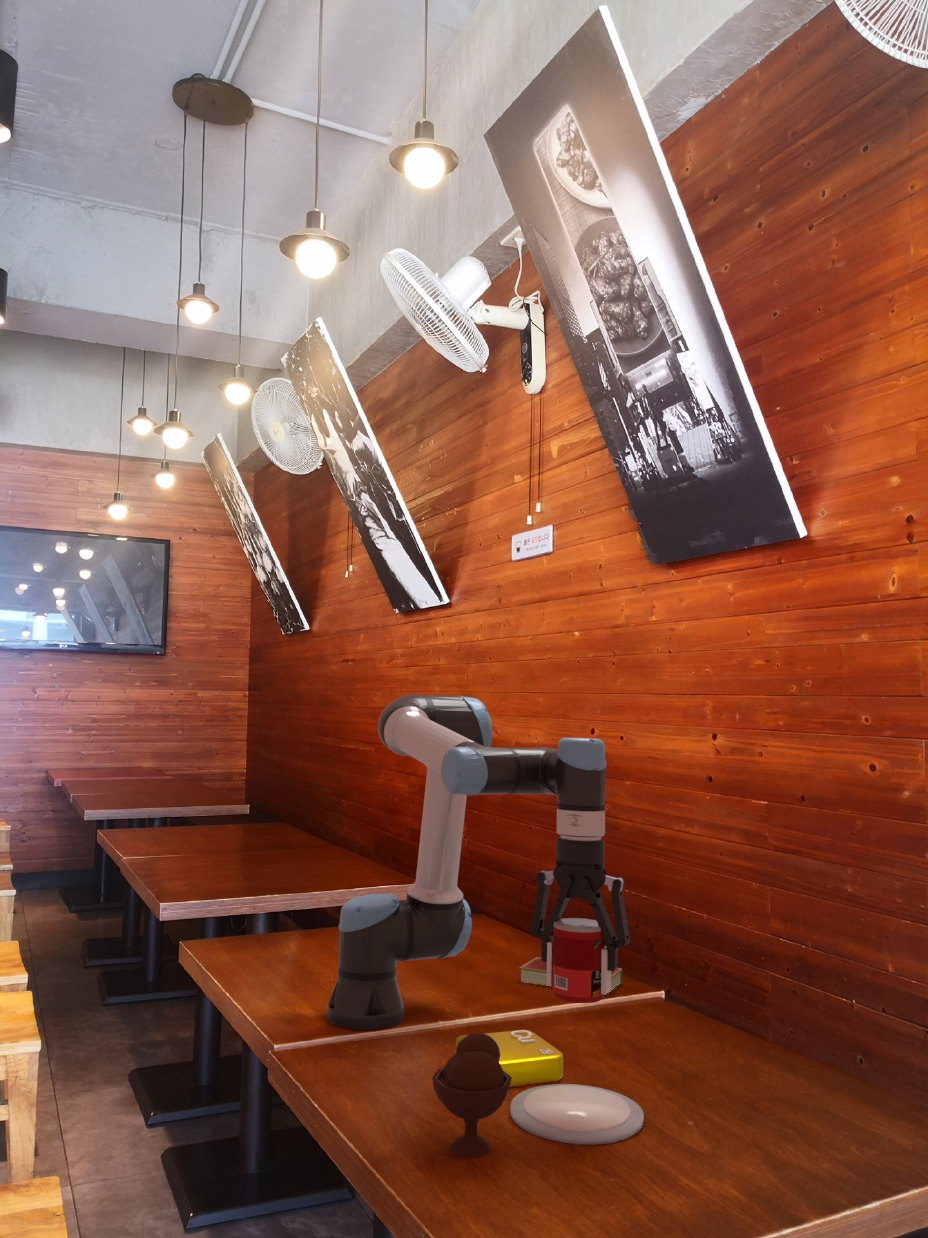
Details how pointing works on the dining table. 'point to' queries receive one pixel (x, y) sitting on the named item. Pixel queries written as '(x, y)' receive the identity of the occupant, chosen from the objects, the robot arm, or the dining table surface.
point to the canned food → (577, 960)
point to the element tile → (527, 1057)
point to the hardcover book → (538, 973)
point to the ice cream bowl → (472, 1089)
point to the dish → (576, 1114)
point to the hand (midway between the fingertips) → (578, 988)
